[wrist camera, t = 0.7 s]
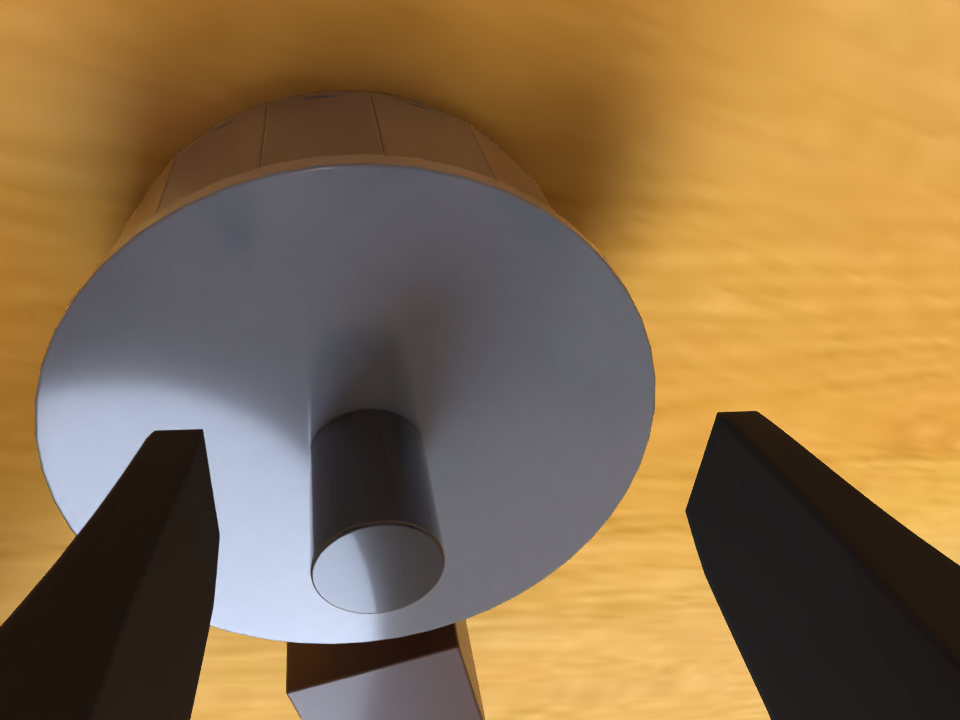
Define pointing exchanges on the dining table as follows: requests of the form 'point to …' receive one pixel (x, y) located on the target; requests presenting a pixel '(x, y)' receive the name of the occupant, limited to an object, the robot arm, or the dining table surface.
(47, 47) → the dining table surface
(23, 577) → the dining table surface
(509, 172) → the grey open cylinder
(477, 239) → the pot lid
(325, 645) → the walnut block
